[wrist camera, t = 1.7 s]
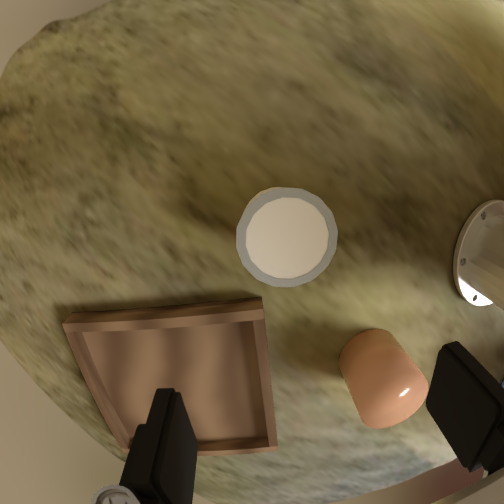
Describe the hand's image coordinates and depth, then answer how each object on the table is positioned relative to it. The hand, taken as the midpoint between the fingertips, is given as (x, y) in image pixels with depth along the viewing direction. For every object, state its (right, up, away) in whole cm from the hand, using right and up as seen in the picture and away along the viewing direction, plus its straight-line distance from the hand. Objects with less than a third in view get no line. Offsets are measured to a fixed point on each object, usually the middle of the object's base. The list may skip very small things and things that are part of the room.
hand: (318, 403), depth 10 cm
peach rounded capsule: (+11, -6, +22) cm, 25 cm away
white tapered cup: (0, +8, +18) cm, 19 cm away
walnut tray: (-10, -10, +22) cm, 26 cm away
